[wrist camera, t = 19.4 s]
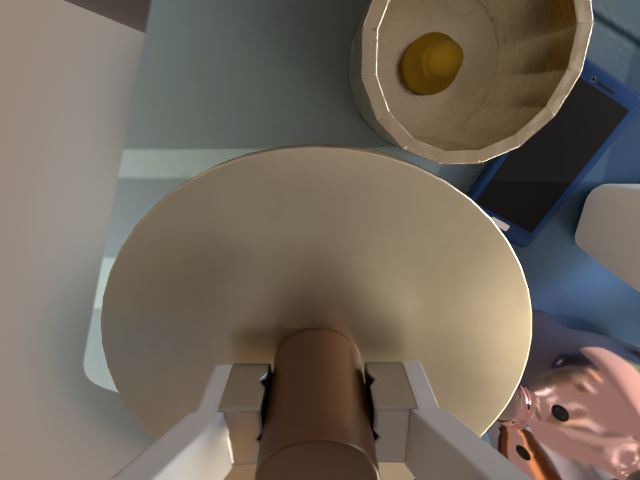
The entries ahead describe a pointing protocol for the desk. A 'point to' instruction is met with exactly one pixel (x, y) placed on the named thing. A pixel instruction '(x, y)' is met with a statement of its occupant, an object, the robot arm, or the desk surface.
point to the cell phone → (555, 156)
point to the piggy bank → (573, 407)
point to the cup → (613, 230)
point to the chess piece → (431, 63)
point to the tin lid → (316, 301)
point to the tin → (469, 73)
